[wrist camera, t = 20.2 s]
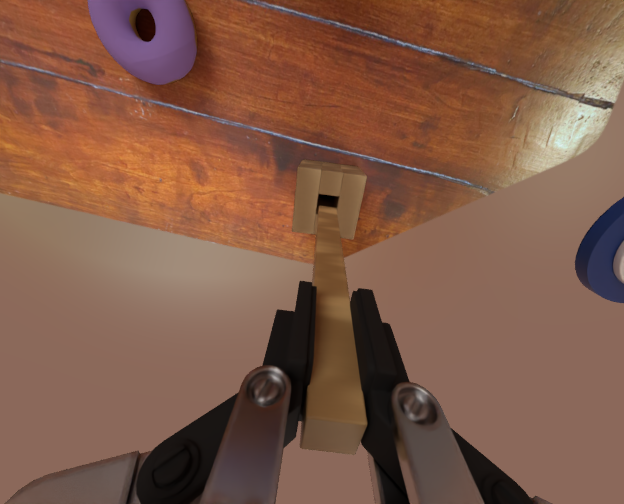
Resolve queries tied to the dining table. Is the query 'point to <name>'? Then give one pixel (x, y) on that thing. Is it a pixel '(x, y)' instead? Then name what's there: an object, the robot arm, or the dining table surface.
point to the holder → (328, 181)
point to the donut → (156, 53)
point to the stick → (332, 352)
